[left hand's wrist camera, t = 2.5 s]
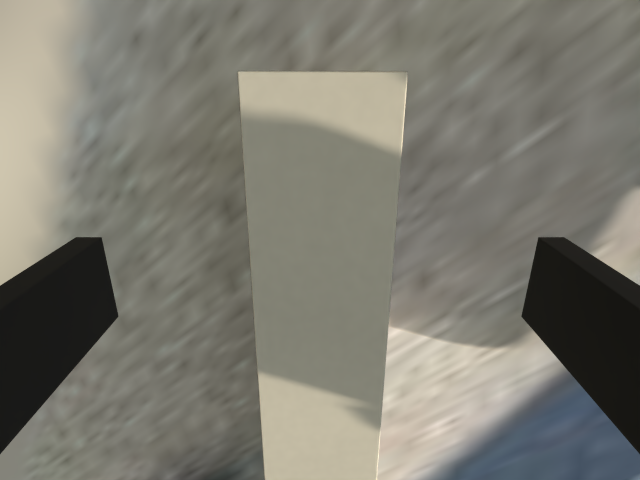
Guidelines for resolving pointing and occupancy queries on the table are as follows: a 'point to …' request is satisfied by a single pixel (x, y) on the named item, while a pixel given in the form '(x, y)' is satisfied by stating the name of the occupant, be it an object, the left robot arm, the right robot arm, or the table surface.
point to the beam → (321, 261)
